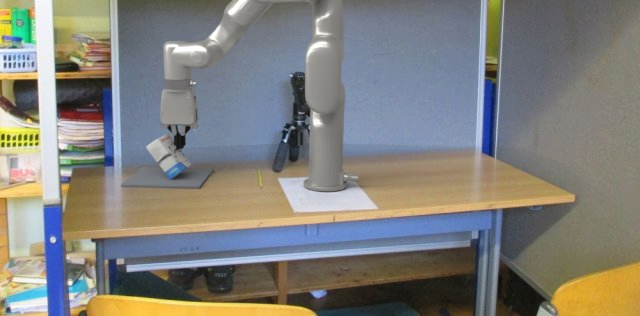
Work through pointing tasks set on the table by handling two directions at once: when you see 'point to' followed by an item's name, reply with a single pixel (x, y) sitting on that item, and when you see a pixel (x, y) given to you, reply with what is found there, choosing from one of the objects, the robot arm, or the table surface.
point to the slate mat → (161, 180)
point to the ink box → (168, 156)
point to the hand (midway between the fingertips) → (180, 148)
